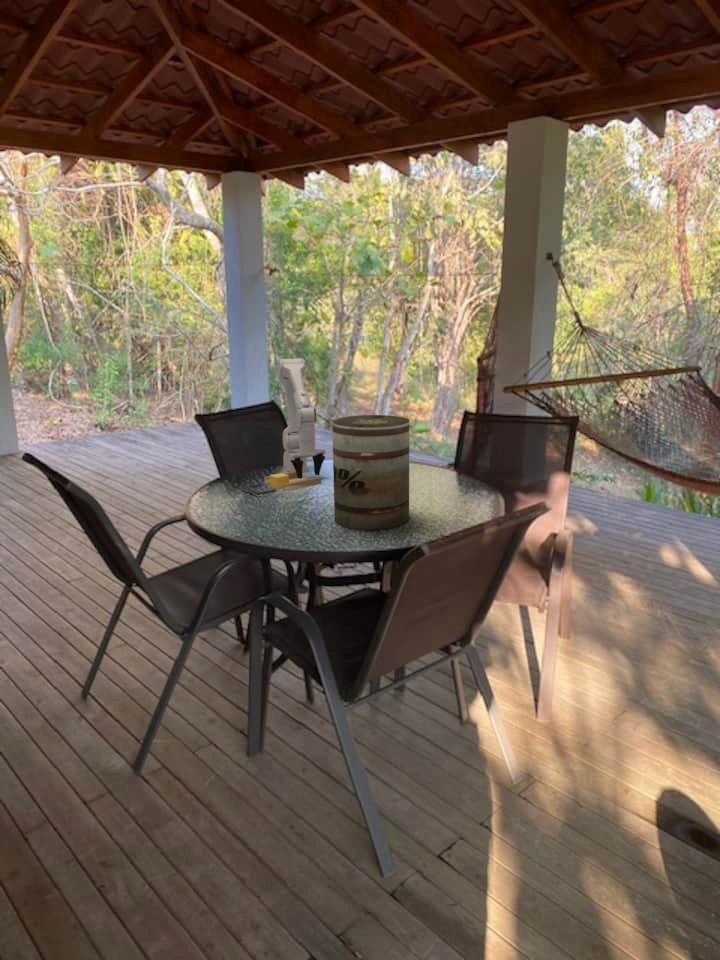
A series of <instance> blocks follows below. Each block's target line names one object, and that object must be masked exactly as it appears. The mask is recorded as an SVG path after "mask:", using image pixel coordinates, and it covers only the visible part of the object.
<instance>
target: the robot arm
mask: <svg viewBox="0 0 720 960" xmlns="http://www.w3.org/2000/svg"><path fill="white" fill-rule="evenodd" d="M276 365H277V366H276V369H277V377H278V381H279V382H280V383H282V384H283V387H284V394H285V404H286V409H287V410H286V411H287V418H288V419H287V420H288V426H287V427H285V428H284V430H283V432H282V444H283V449H284V452H283V460H282V461H283V471H287V473H289V472H294V471H296V474H297V477H298V478H300V479H302V477H303V473H306V472H308V463H307V462H308V459H307V458H310V457H311V458H312V462H313V469H314V471H313V472H314V475H316V476H320V473H321V470H322V466H323V464H324V461H325V459H326V449H325V448H318V449H316V431H315V430H316V429H315V428H316V427H315V423H316V422H317V419H318V418H317V417H318V415H317V409H316V407H315V405H314V404H312V402H311V401H312V400H311V397H310V393H309V392H308V391H307V390H306V389H305V385H304V379H303V378H304V376H305V374H306V373H305V372H306V361H305V359H304V358H303V357H299V358H278V360H277V363H276Z"/></svg>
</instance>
